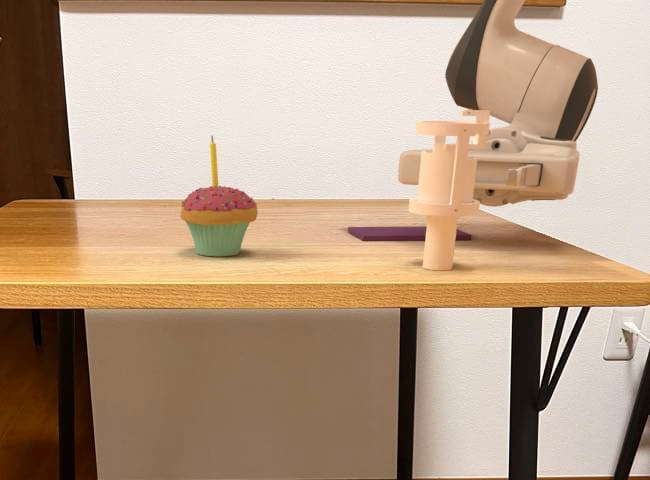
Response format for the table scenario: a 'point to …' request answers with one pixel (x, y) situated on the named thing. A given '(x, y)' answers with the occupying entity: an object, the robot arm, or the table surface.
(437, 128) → the peach tall flanged fixture
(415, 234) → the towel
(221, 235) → the cupcake
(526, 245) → the table surface
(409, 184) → the robot arm
